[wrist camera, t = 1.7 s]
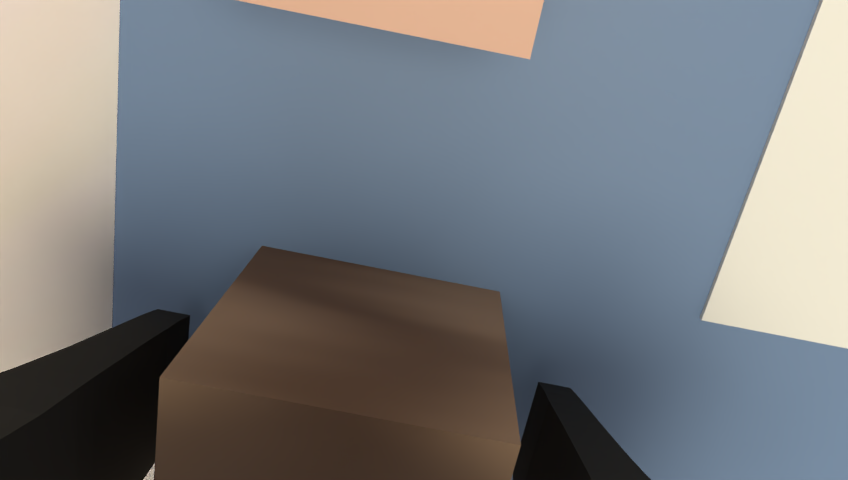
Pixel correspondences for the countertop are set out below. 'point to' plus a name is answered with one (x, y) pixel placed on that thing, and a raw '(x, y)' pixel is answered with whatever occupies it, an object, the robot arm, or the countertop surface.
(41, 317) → the countertop surface
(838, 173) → the blueprint board
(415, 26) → the terracotta block
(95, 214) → the countertop surface
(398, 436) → the walnut block
